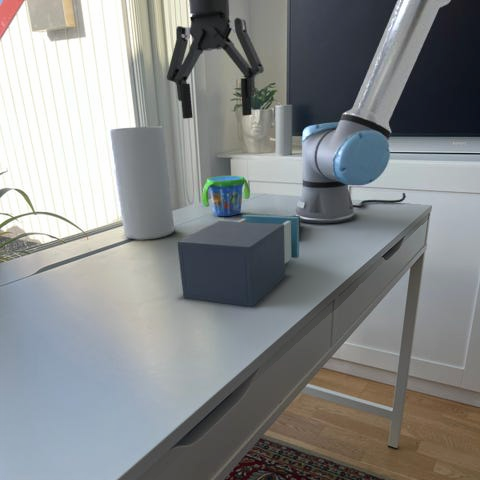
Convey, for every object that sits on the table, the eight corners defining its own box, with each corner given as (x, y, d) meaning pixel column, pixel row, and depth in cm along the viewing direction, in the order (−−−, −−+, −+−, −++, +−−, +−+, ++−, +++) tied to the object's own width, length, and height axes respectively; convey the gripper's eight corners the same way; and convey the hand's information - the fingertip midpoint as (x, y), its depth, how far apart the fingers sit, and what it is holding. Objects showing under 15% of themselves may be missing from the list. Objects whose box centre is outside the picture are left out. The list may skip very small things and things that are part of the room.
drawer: (256, 245, 103) (254, 209, 100) (307, 249, 98) (307, 211, 95) (216, 272, 88) (212, 231, 84) (274, 278, 83) (272, 234, 80)
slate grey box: (223, 270, 91) (219, 220, 87) (285, 276, 86) (284, 224, 82) (183, 298, 79) (176, 241, 75) (252, 307, 74) (249, 247, 70)
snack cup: (240, 207, 146) (238, 173, 141) (260, 212, 137) (259, 175, 133) (195, 216, 138) (191, 179, 134) (213, 221, 130) (210, 183, 126)
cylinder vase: (161, 225, 129) (149, 126, 119) (183, 233, 119) (171, 126, 109) (117, 234, 123) (100, 130, 113) (136, 243, 113) (119, 130, 103)
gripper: (140, -1, 90) (155, 120, 99) (262, -23, 80) (266, 114, 89) (162, 4, 97) (174, 118, 105) (278, -15, 86) (280, 113, 95)
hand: (216, 117), depth 97 cm, fingers open, 13 cm apart
